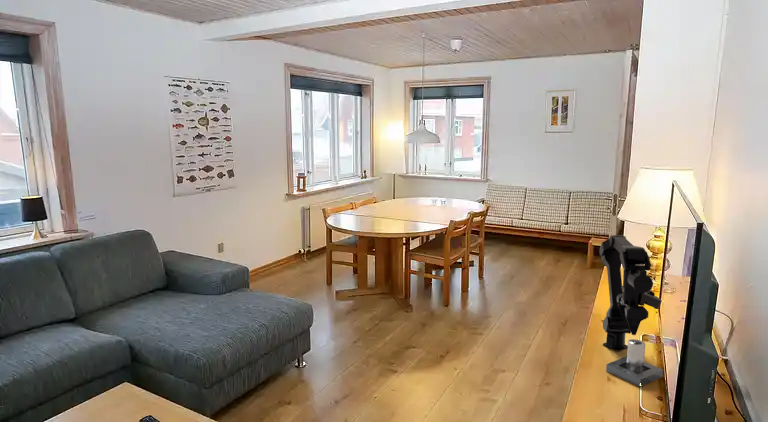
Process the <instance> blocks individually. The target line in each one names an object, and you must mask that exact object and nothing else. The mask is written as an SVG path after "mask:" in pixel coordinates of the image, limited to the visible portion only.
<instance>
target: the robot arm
mask: <svg viewBox="0 0 768 422" xmlns="http://www.w3.org/2000/svg"><path fill="white" fill-rule="evenodd" d="M599 256H600V258H601V262H602V263H603V265H604V266H605V267H606V271H607V273H606V274H607V281H608V282H607V284H608V292H609V293H608V294H609V307H608V309H607V311H606V316H605V318H604V319H603V321H602V329H603V330H604V332H605V333H606V342H604V343H602V346H604V347H606V348H609V349H611V350H613V351H616V352H620V351H622V350H626V349H628V344H626V334H629V335H630V334H631V335H632V336H636V335H637V332H638V330H639V327H640V324H641V322H642V321H644V320H647V319H648V318H649V311H648V310H647V309H646V307H645V305H646V306H650V307H651V308H653V309H656V310H659V307H660V306H661V303H662V299H661V298H660V297H658V296H657V295H655V292H654V291H652V289H653V286H654V282H653V279H652V278H651V277H650V276H649V275H648V274H647V273H648V271H651V270H652V269H651V267H652V263H651V259H650V256H649V254H648V252H647V251H646V249H645V248H644V247H642V246H636V245H633V244H632V243H631V242H630V241H629V240H628V239H627V237H626V236H624V235H622V234H621V235H620V234H619V235H618V234H617V235H616V234H615V235H614V234H613V235H610V236H609V238H608V239H606V240H605V241H603V242H601V244H600V247H599ZM621 266H622V269H623V270H622V271H623V272H621ZM622 273H623V276H622Z"/></svg>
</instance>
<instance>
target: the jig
mask: <svg viewBox="0 0 768 422" xmlns="http://www.w3.org/2000/svg"><path fill="white" fill-rule="evenodd" d="M626 363H627V355H626V356H624V357H621V358H619V359H616V360H613V361H611V362H609V363H606V367H605V368H606V369H605V371H606V372H607V373H609V374H612V375H613V376H615V377H618V378H620V379H622V380H624V381H626V382H628V383H631V384H633V385H635V386H636V387H639V384H640V383H641V385H642V386H641V387H644V386H645V385H648V384H650V383H652V382H654V381H655V382H656V380H657V381H658V380H659V379H661V378H663V377H664V369H662V368H660V367H659V366H656V365H653V364H651V363H648V362H646V361H644V366H643V372H642V373H640V374H636V373H634V372H632V371H630V370H627V369H626Z"/></svg>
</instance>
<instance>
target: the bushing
mask: <svg viewBox="0 0 768 422" xmlns="http://www.w3.org/2000/svg"><path fill="white" fill-rule="evenodd" d="M627 346H628V348H627V354H626V356H627V363H626V369H627V370H630V371H632V372H634V373H636V374H640V373H642V372H643V366H644V362H645V354H646V342H645V341H643V340H640V339H637V338H636V339H635V338H634V339H633V338H632V339H628V343H627Z"/></svg>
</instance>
